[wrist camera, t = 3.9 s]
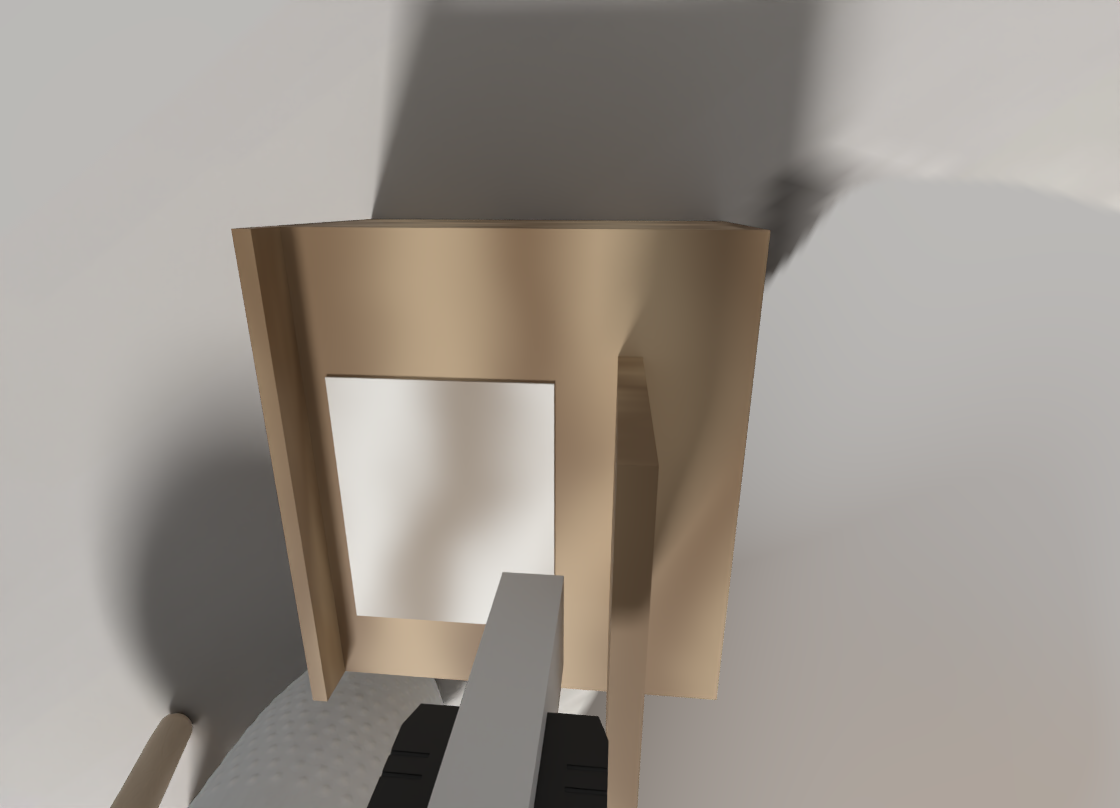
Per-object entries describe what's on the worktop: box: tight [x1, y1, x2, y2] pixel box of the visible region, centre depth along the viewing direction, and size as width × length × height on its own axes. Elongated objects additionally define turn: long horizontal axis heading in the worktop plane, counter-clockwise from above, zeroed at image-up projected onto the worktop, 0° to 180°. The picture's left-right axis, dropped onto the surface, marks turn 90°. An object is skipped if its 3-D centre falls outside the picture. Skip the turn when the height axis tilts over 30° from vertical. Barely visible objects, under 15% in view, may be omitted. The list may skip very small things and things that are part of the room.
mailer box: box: [279, 219, 761, 229], centre depth 26 cm, size 16×18×8 cm
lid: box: [231, 226, 770, 808], centre depth 17 cm, size 16×18×9 cm
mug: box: [188, 670, 443, 808], centre depth 31 cm, size 15×11×13 cm
